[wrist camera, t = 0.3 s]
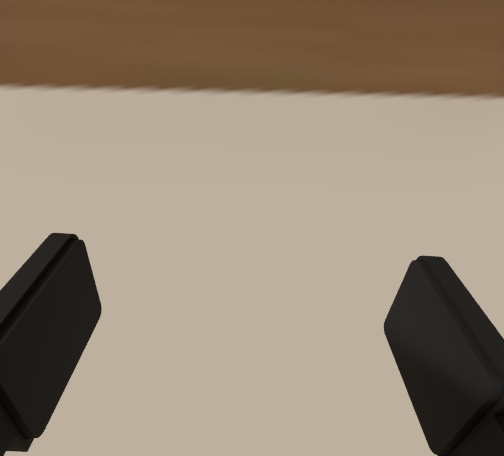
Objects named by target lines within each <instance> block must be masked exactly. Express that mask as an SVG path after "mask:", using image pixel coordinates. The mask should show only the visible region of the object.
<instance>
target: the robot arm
mask: <svg viewBox="0 0 504 456" xmlns="http://www.w3.org/2000/svg"><path fill="white" fill-rule="evenodd" d="M100 315H101V303H100V300H99V295H98V292H97V288H96V284H95V280H94V277H93V273H92V269H91V265H90V262H89V258H88V254H87V251H86V247H85V243H84V241H83V240H79V239H78V237H77V236H76V235H75V234H64V233H52V234H50V235H49V236H48V237H47V238H46V239H45V241H44V242H43V243H42V244H41V245H40V246H39V247H38V249H37V250H36V251H35V252H34V253H33V254H32V256H31V257H30V258H29V259H28V260H27V261H26V262H25V263H24V264H23V266H22V267H21V268H20V269H19V270H18V271H17V272H16V273H15V275H14V276H13V277H12V278H11V279H10V280H9V281H8V283H7V284H6V285H5V286H4V287H3V288H2V289H1V290H0V456H4V454H5V452H6V451H22V452H27V451H28V449H29V447H30V445H31V443H32V441H33V440H34V438H38V437H40V436H41V434H42V433H43V432H44V430H45V428H46V426H47V424H48V422H49V420H50V418H51V416H52V414H53V412H54V410H55V408H56V406H57V404H58V402H59V400H60V398H61V395H62V393H63V392H64V390H65V387H66V385H67V383H68V381H69V379H70V377H71V375H72V373H73V371H74V369H75V367H76V365H77V363H78V361H79V359H80V357H81V355H82V352H83V351H84V349H85V347H86V345H87V343H88V341H89V339H90V337H91V334H92V333H93V331H94V328H95V327H96V324H97V322H98V320H99V318H100ZM384 332H385V335H386V338H387V340H388V343H389V346H390V348H391V350H392V353H393V356H394V358H395V361H396V363H397V366H398V369H399V371H400V374H401V376H402V379H403V381H404V384H405V386H406V389H407V391H408V394H409V397H410V399H411V402H412V404H413V407H414V409H415V412H416V415H417V417H418V420H419V422H420V425H421V427H422V430H423V433H424V435H425V437H426V440H427V443H428V445H429V447H430V449H431V451H432V452H433V453H434V454H436V455H438V456H504V339H503V337H502V336H501V335H500V333H499V332H498V331H497V329H496V328H495V327H494V325H493V324H492V323H491V321H490V320H489V319H488V317H487V316H486V314H485V313H484V312H483V310H482V309H481V308H480V306H479V305H478V304H477V302H476V301H475V299H474V298H473V297H472V295H471V294H470V293H469V291H468V290H467V289H466V287H465V286H464V285H463V283H462V282H461V281H460V279H459V278H458V277H457V275H456V274H455V273H454V271H453V270H452V268H451V267H450V266H449V264H448V263H447V262H446V261H445V259H444V258H442V257H435V256H419V257H418V258H417V260H413V261H412V262H411V263H410V265H409V268H408V270H407V272H406V275H405V277H404V279H403V281H402V284H401V286H400V288H399V290H398V293H397V295H396V297H395V299H394V301H393V304H392V306H391V308H390V311H389V313H388V315H387V318H386V319H385V322H384Z"/></svg>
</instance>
